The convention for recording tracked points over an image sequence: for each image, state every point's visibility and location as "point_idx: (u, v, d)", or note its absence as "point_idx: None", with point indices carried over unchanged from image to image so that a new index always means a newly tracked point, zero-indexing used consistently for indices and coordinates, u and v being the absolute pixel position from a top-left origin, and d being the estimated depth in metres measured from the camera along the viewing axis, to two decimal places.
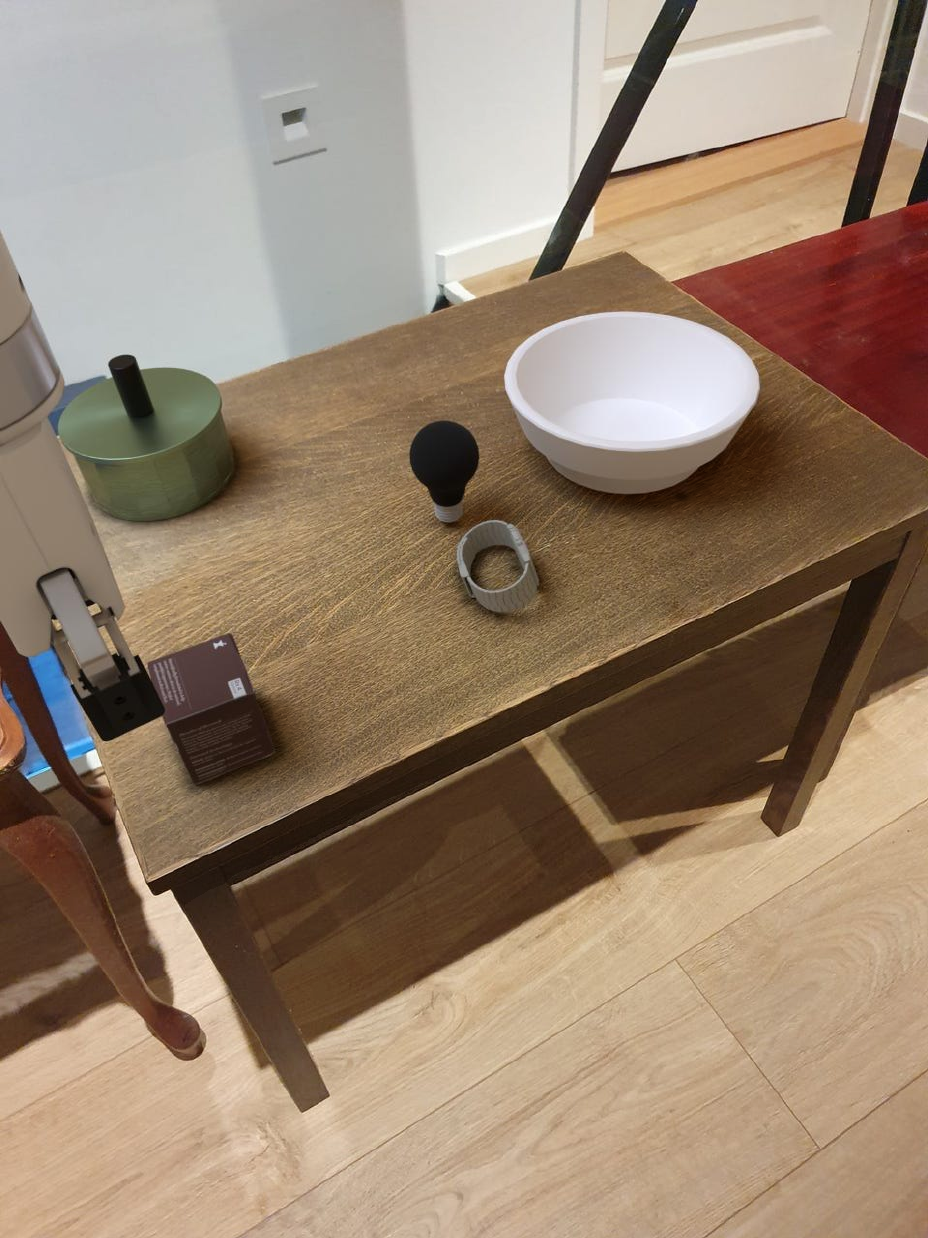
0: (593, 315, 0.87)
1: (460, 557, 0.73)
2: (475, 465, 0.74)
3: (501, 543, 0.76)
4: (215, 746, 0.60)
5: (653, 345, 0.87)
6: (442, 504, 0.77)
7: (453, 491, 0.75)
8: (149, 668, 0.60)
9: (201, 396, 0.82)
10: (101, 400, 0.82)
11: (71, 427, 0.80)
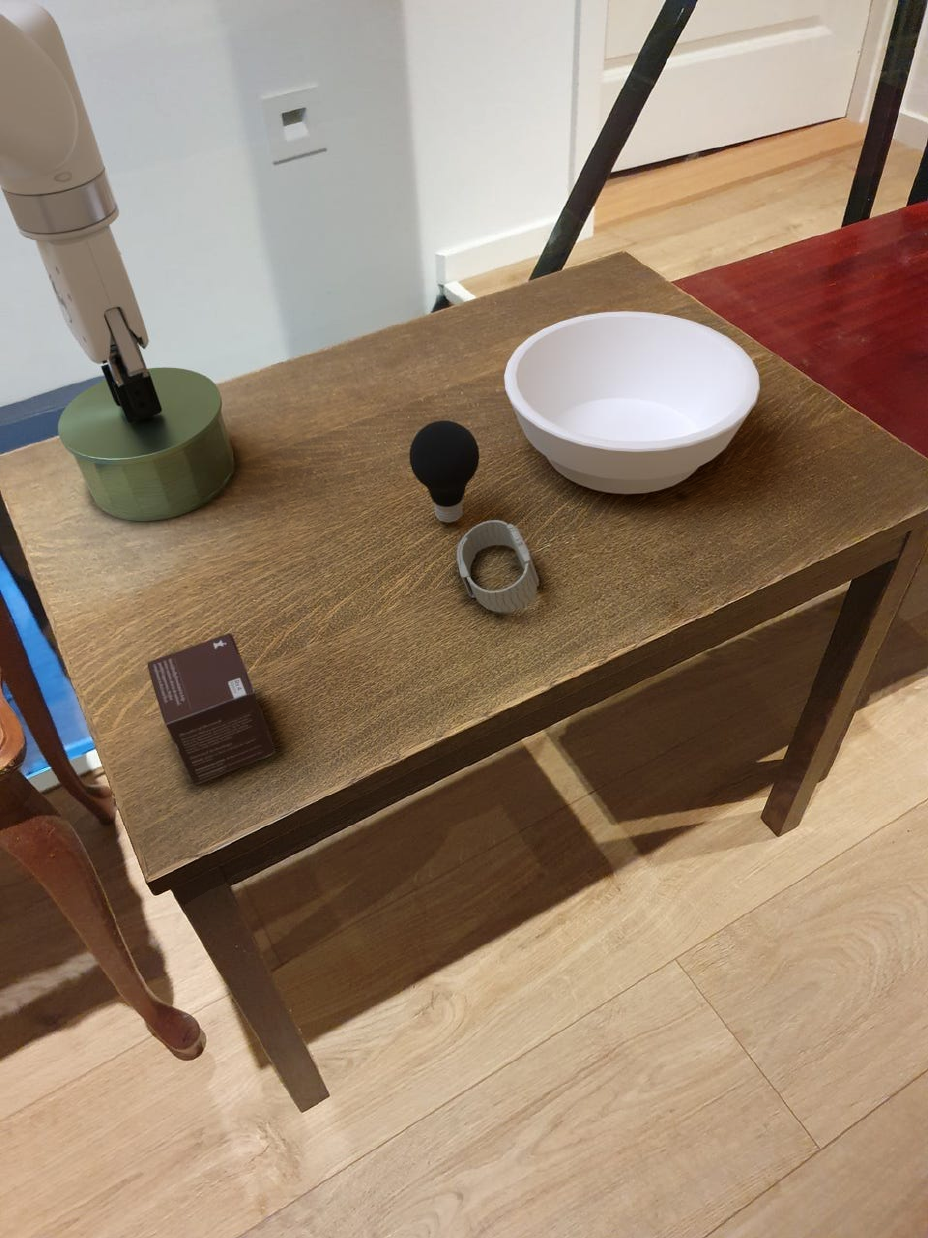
0: (593, 314, 0.87)
1: (460, 557, 0.73)
2: (475, 465, 0.74)
3: (501, 543, 0.76)
4: (215, 746, 0.60)
5: (653, 345, 0.87)
6: (442, 504, 0.77)
7: (453, 491, 0.75)
8: (149, 668, 0.60)
9: (201, 396, 0.82)
10: (101, 400, 0.82)
11: (71, 427, 0.80)
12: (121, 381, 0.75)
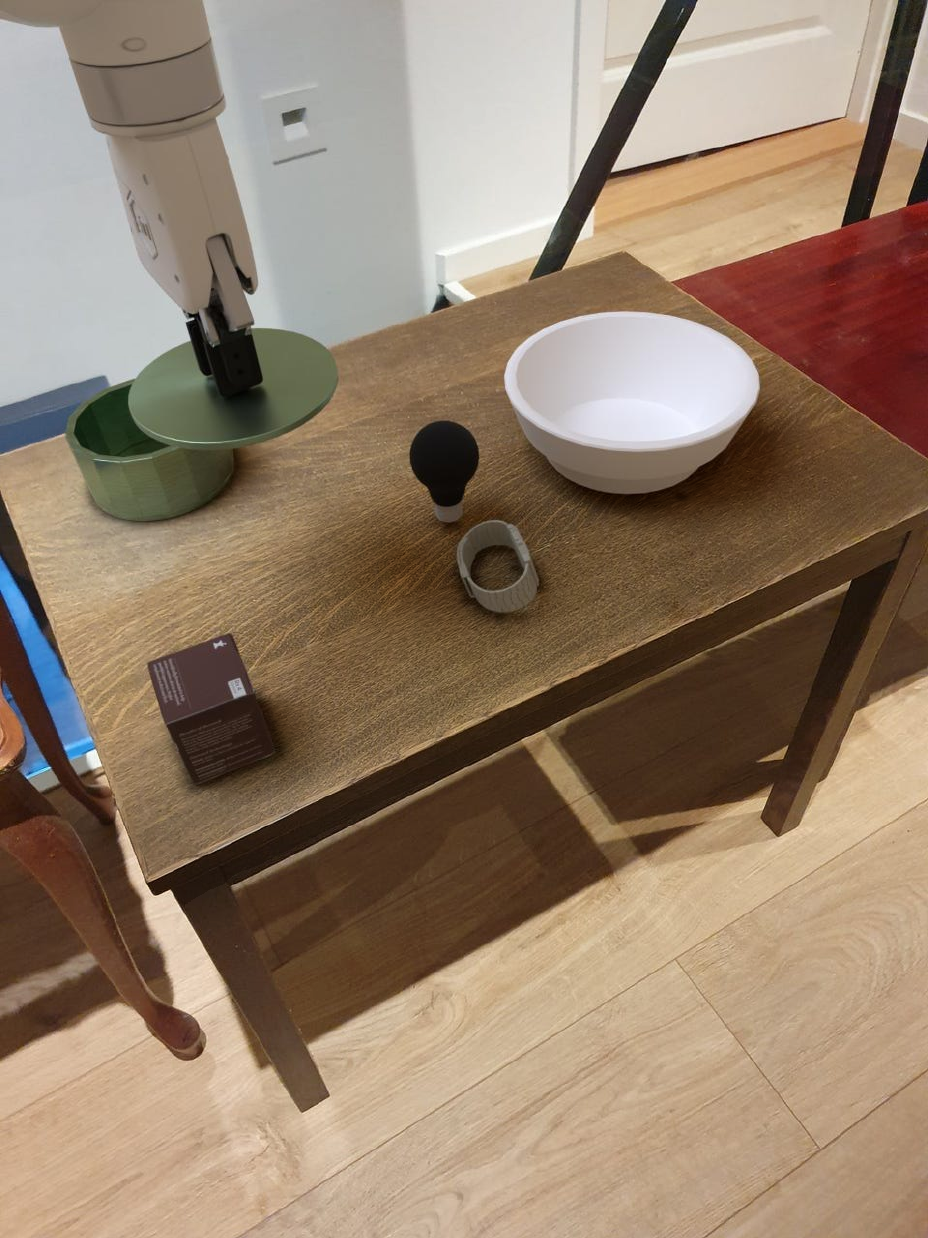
0: (594, 314, 0.87)
1: (460, 557, 0.73)
2: (475, 465, 0.74)
3: (501, 543, 0.76)
4: (215, 746, 0.60)
5: (653, 345, 0.87)
6: (442, 504, 0.77)
7: (453, 491, 0.75)
8: (149, 668, 0.60)
9: (310, 362, 0.64)
10: (181, 368, 0.64)
11: (146, 402, 0.61)
12: (217, 340, 0.57)
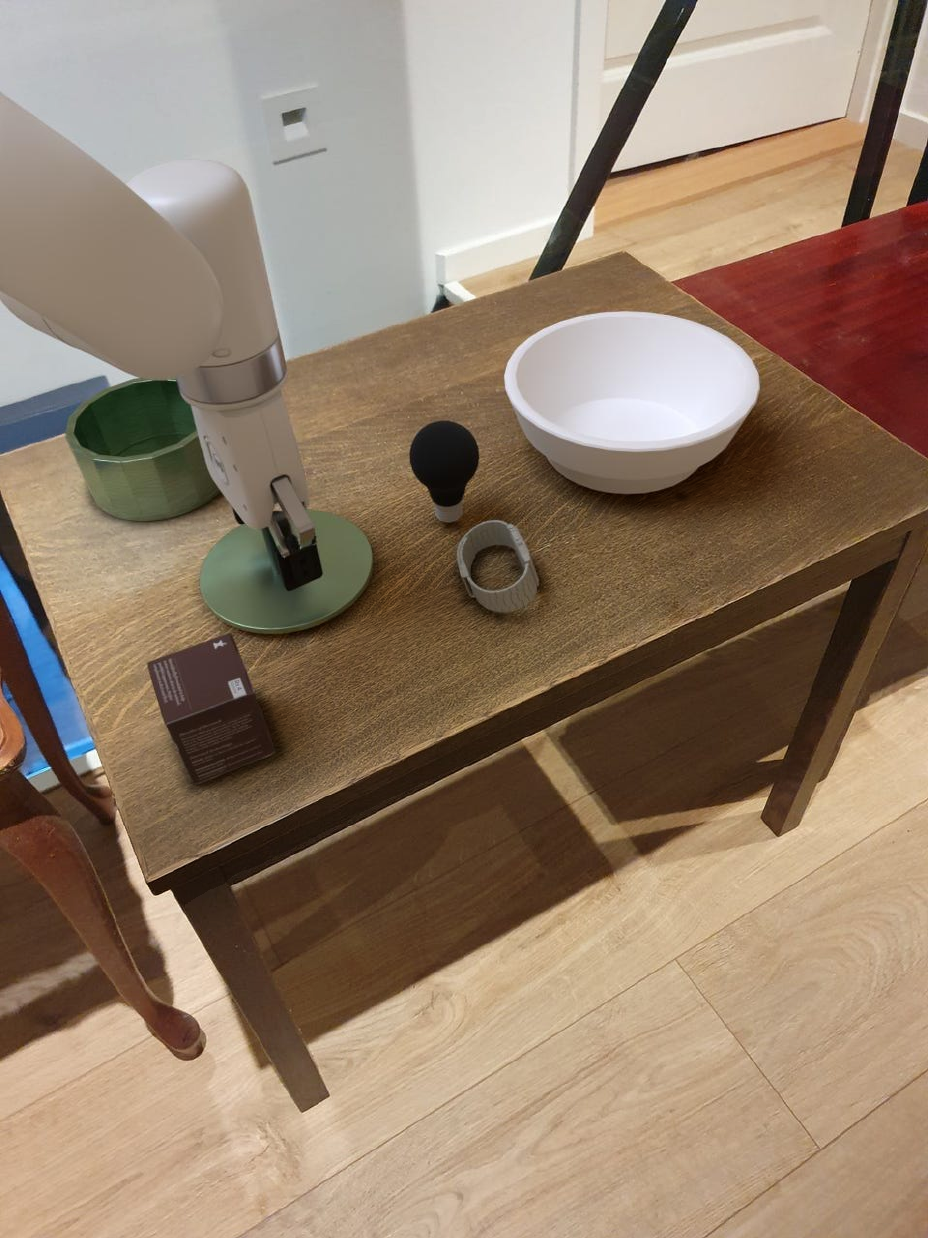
0: (593, 314, 0.87)
1: (460, 557, 0.73)
2: (475, 465, 0.74)
3: (501, 543, 0.76)
4: (215, 746, 0.60)
5: (653, 345, 0.87)
6: (442, 504, 0.77)
7: (453, 491, 0.75)
8: (149, 668, 0.60)
9: (350, 547, 0.76)
10: (241, 551, 0.76)
11: (214, 586, 0.74)
12: (288, 553, 0.66)
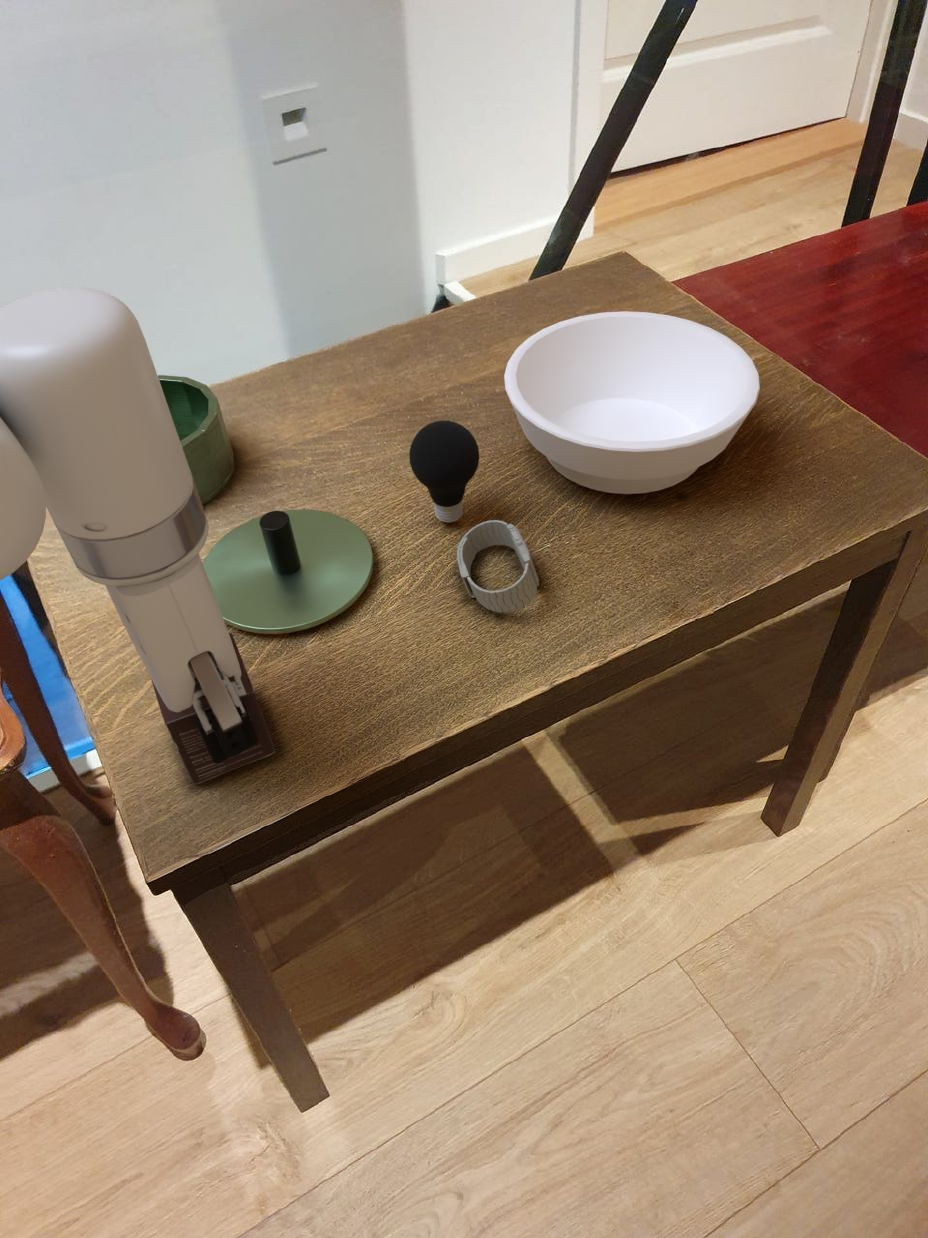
0: (594, 314, 0.87)
1: (460, 557, 0.73)
2: (475, 465, 0.74)
3: (501, 543, 0.76)
4: None
5: (653, 345, 0.87)
6: (442, 504, 0.77)
7: (453, 491, 0.75)
8: None
9: (350, 547, 0.76)
10: (241, 551, 0.76)
11: (214, 586, 0.74)
12: (211, 730, 0.56)
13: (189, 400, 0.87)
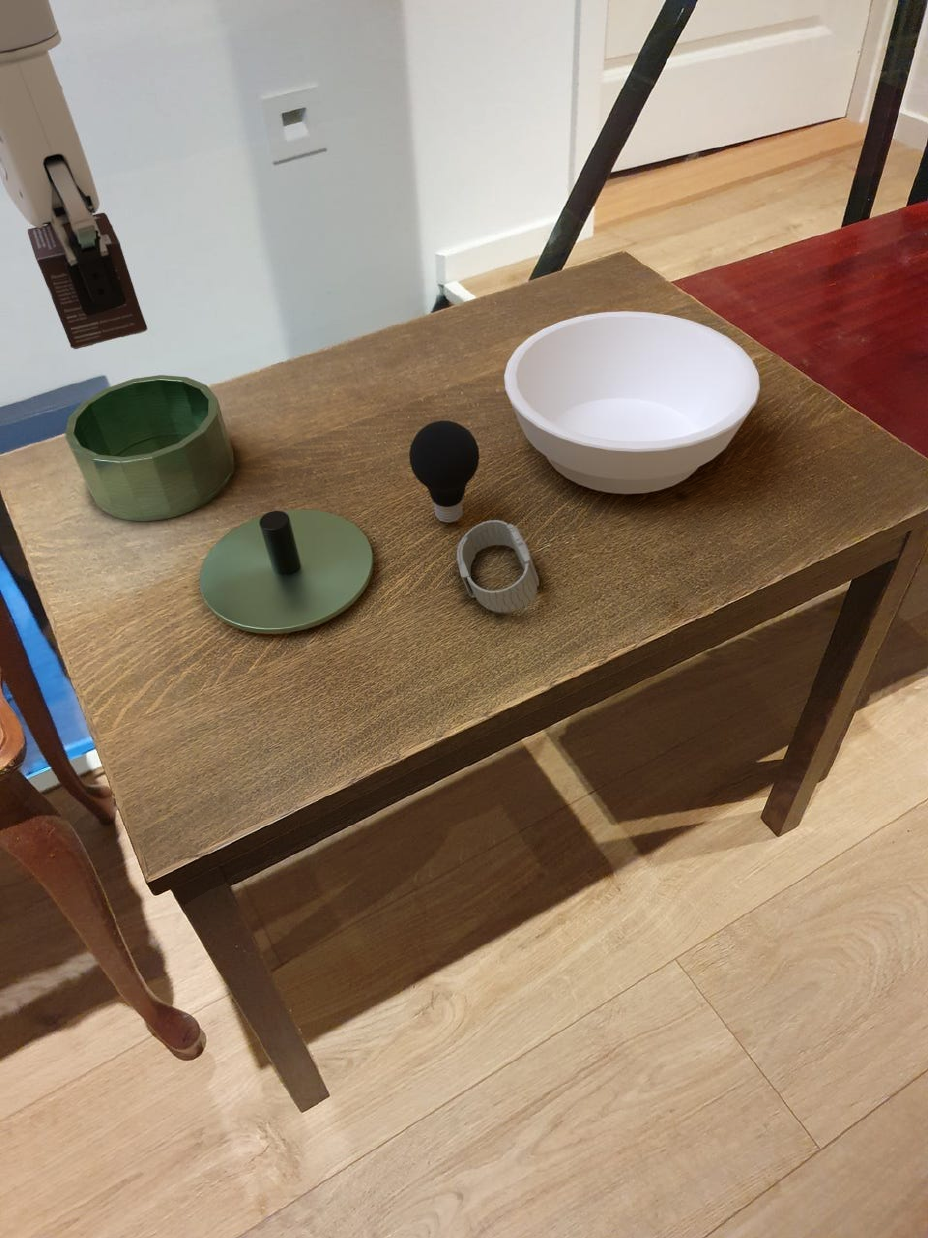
0: (594, 314, 0.87)
1: (460, 557, 0.73)
2: (475, 465, 0.74)
3: (501, 543, 0.76)
4: None
5: (653, 345, 0.87)
6: (442, 504, 0.77)
7: (453, 491, 0.75)
8: (29, 232, 0.67)
9: (350, 547, 0.76)
10: (241, 551, 0.76)
11: (214, 586, 0.74)
12: (74, 259, 0.63)
13: (189, 400, 0.87)
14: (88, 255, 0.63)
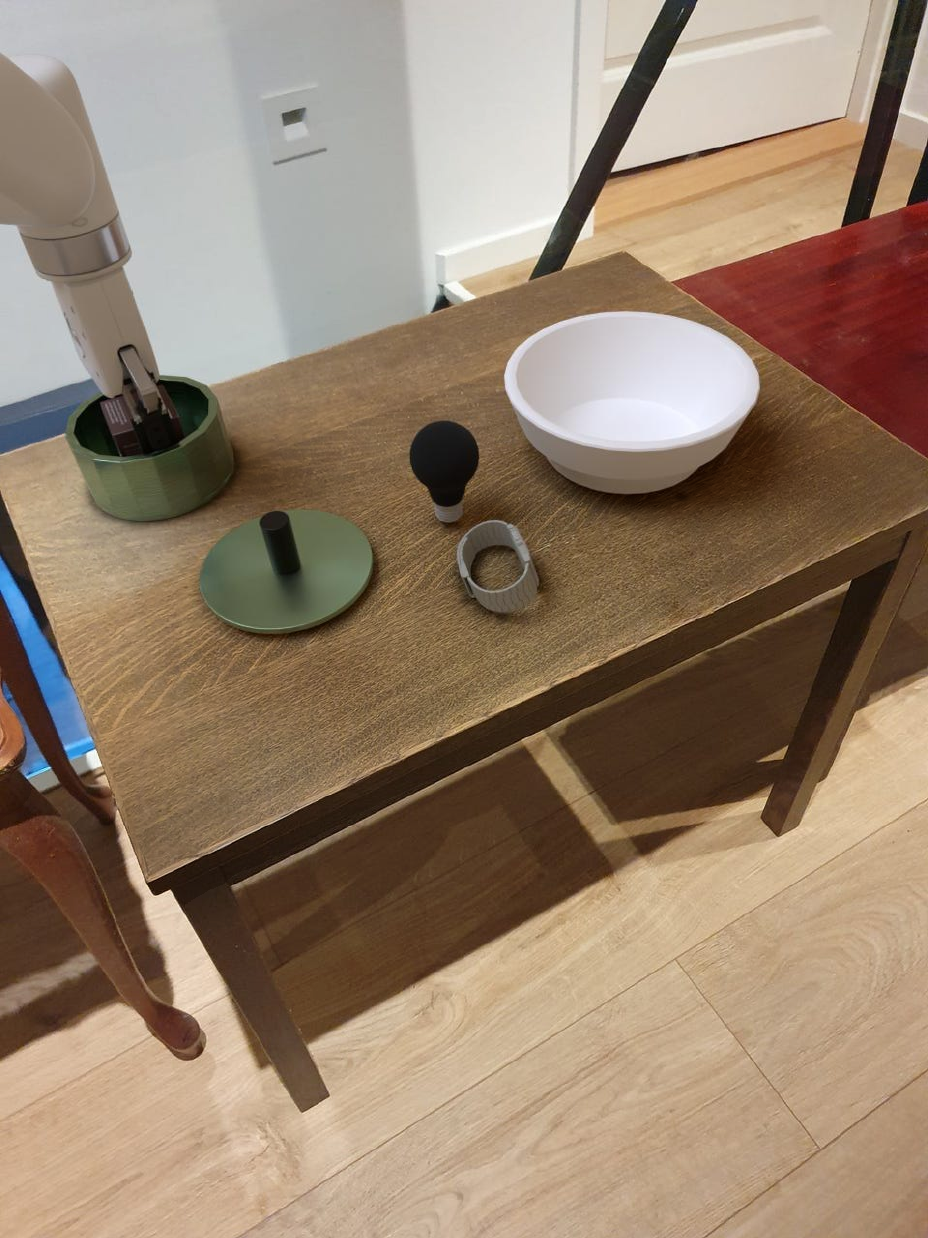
0: (593, 314, 0.87)
1: (460, 557, 0.73)
2: (475, 465, 0.74)
3: (501, 543, 0.76)
4: None
5: (653, 345, 0.87)
6: (442, 504, 0.77)
7: (453, 491, 0.75)
8: (101, 405, 0.81)
9: (350, 547, 0.76)
10: (241, 551, 0.76)
11: (214, 586, 0.74)
12: (140, 419, 0.75)
13: (189, 400, 0.87)
14: (151, 416, 0.75)
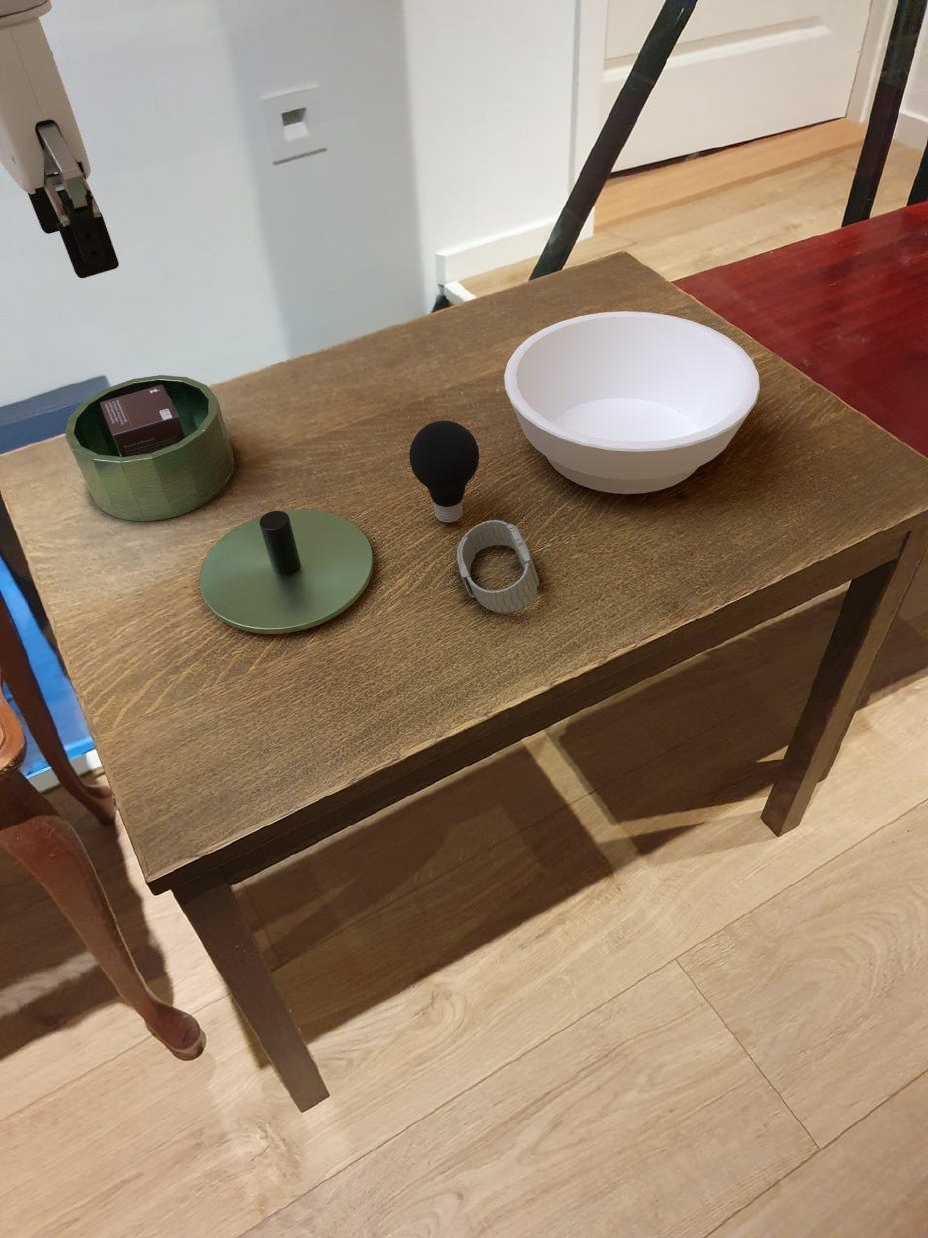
0: (594, 314, 0.87)
1: (460, 557, 0.73)
2: (475, 465, 0.74)
3: (501, 543, 0.76)
4: None
5: (653, 345, 0.87)
6: (442, 504, 0.77)
7: (453, 491, 0.75)
8: (101, 405, 0.81)
9: (350, 547, 0.76)
10: (241, 551, 0.76)
11: (214, 586, 0.74)
12: (67, 219, 0.63)
13: (189, 400, 0.87)
14: (81, 215, 0.63)
